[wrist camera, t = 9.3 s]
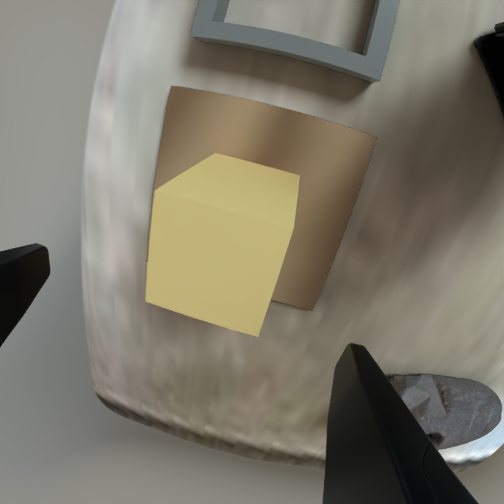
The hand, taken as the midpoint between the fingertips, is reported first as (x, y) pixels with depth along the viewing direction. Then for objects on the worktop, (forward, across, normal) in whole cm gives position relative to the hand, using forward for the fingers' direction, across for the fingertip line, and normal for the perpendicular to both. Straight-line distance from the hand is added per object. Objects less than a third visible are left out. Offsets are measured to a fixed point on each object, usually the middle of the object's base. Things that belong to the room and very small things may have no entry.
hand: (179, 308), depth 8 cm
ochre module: (+12, 0, +1) cm, 12 cm away
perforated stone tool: (+13, -20, +12) cm, 27 cm away
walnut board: (+12, 0, +1) cm, 12 cm away
